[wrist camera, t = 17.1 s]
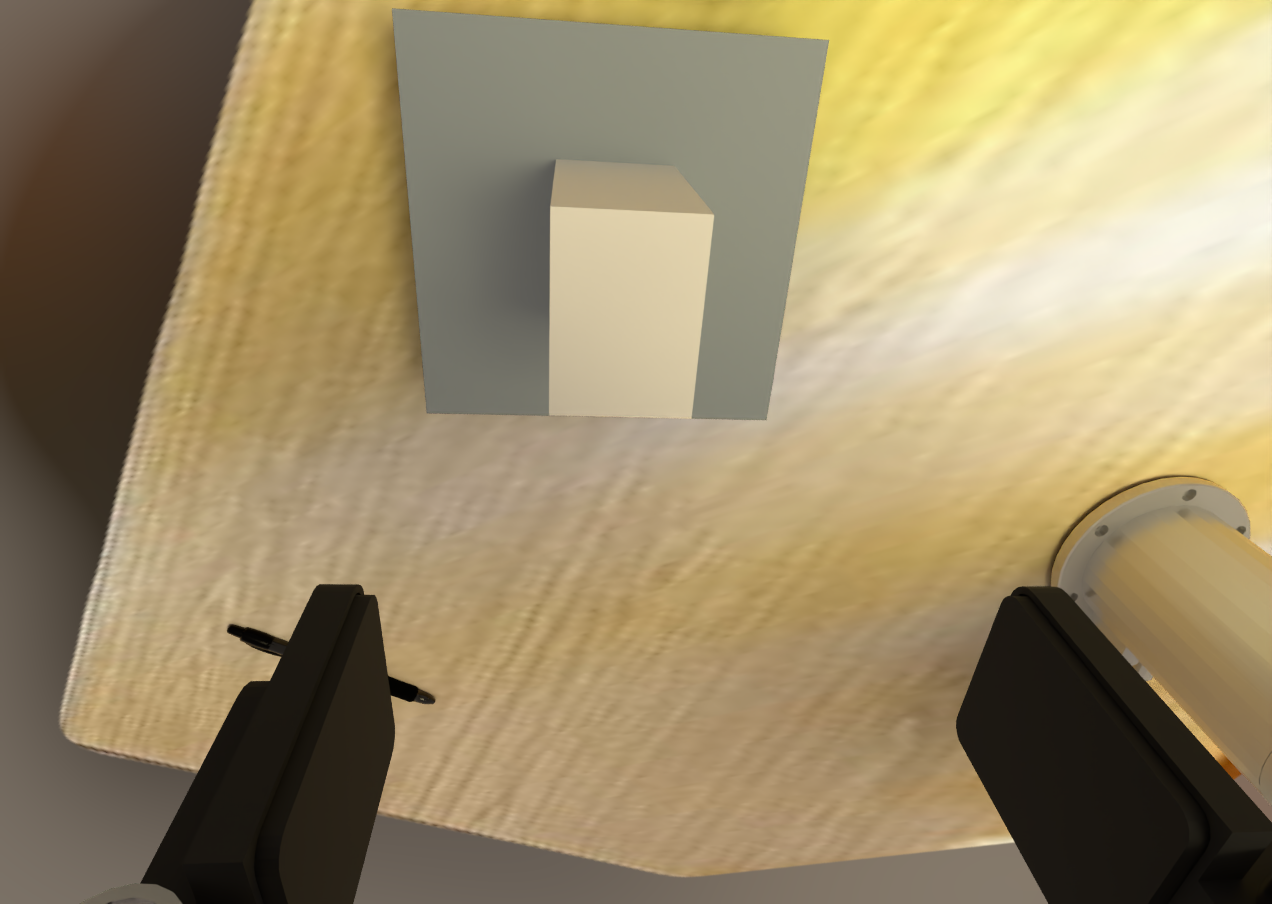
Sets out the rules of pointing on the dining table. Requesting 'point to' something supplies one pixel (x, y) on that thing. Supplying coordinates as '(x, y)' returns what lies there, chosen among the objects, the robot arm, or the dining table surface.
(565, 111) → the podium
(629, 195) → the carton
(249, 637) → the pen
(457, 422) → the dining table surface
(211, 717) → the dining table surface
